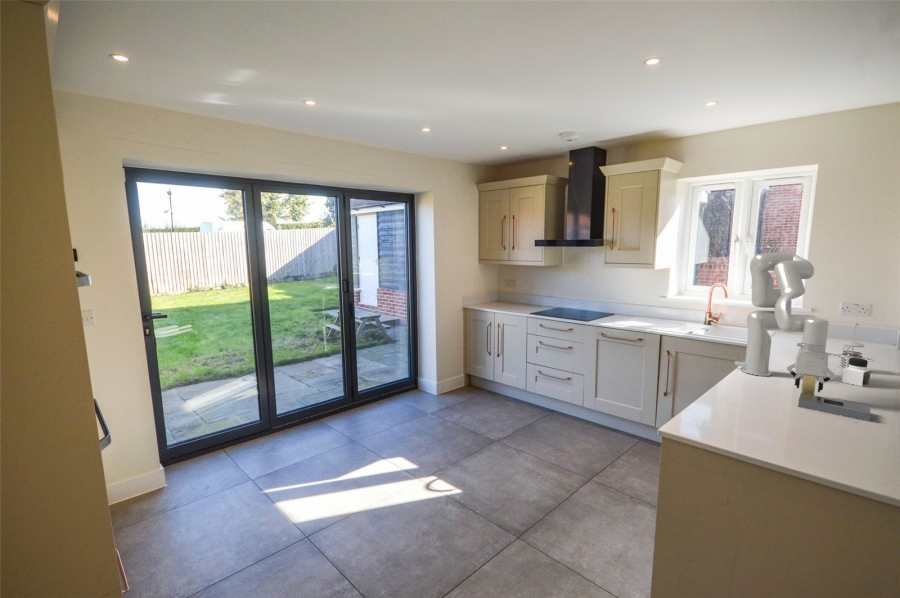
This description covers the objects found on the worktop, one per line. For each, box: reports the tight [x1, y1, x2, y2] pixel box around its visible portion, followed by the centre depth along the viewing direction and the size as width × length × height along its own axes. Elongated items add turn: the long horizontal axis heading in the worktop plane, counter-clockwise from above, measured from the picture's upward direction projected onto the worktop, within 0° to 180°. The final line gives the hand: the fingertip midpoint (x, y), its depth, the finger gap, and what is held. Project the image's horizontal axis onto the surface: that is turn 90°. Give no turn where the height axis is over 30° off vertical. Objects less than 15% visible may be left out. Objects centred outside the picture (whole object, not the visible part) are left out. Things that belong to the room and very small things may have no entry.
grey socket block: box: [797, 392, 871, 422], centre depth 160 cm, size 20×10×3 cm, turn 46°
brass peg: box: [800, 374, 817, 396], centre depth 173 cm, size 4×4×10 cm
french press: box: [837, 322, 865, 372], centre depth 210 cm, size 10×12×25 cm
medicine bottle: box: [841, 358, 872, 387], centre depth 190 cm, size 7×7×12 cm
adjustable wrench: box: [827, 352, 873, 361], centre depth 237 cm, size 25×6×2 cm, turn 46°
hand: (808, 389), depth 173 cm, fingers open, 6 cm apart
